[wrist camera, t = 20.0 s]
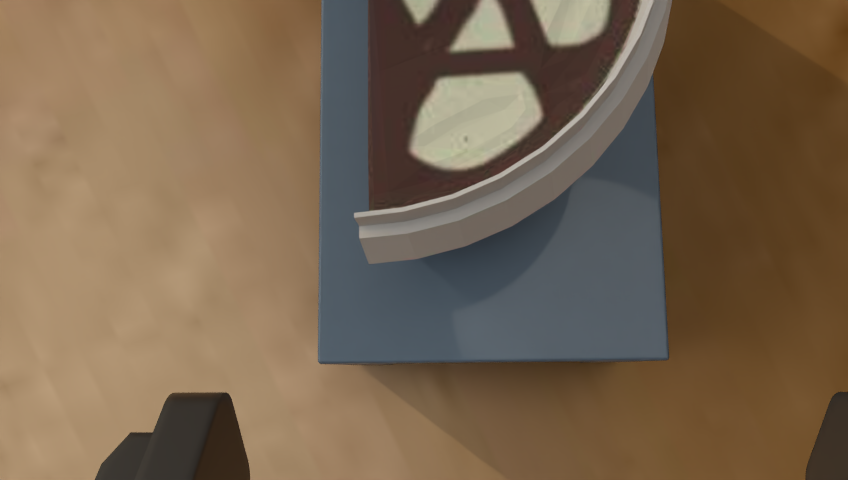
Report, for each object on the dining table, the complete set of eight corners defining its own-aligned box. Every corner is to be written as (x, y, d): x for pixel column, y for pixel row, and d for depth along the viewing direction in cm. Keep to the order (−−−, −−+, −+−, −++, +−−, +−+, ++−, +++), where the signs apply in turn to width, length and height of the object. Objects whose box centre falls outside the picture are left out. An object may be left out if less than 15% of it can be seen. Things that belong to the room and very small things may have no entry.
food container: (617, 295, 23) (727, 241, 13) (402, 298, 23) (353, 248, 14) (597, -104, 25) (680, -409, 15) (399, -95, 25) (354, -390, 16)
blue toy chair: (618, 362, 31) (757, 356, 16) (355, 364, 31) (253, 362, 16) (597, -79, 33) (699, -433, 19) (357, -70, 34) (270, -406, 19)
